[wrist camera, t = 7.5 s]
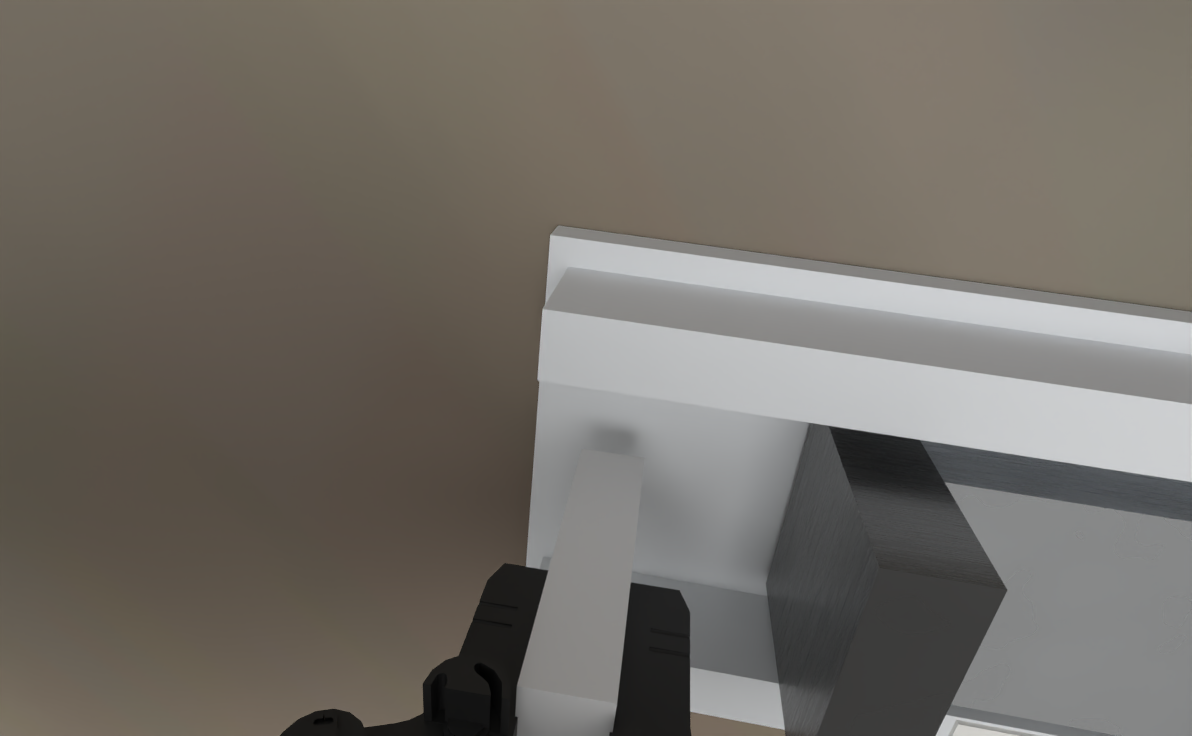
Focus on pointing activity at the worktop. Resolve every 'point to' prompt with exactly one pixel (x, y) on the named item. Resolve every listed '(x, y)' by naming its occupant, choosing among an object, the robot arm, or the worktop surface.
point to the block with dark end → (978, 591)
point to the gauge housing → (817, 410)
